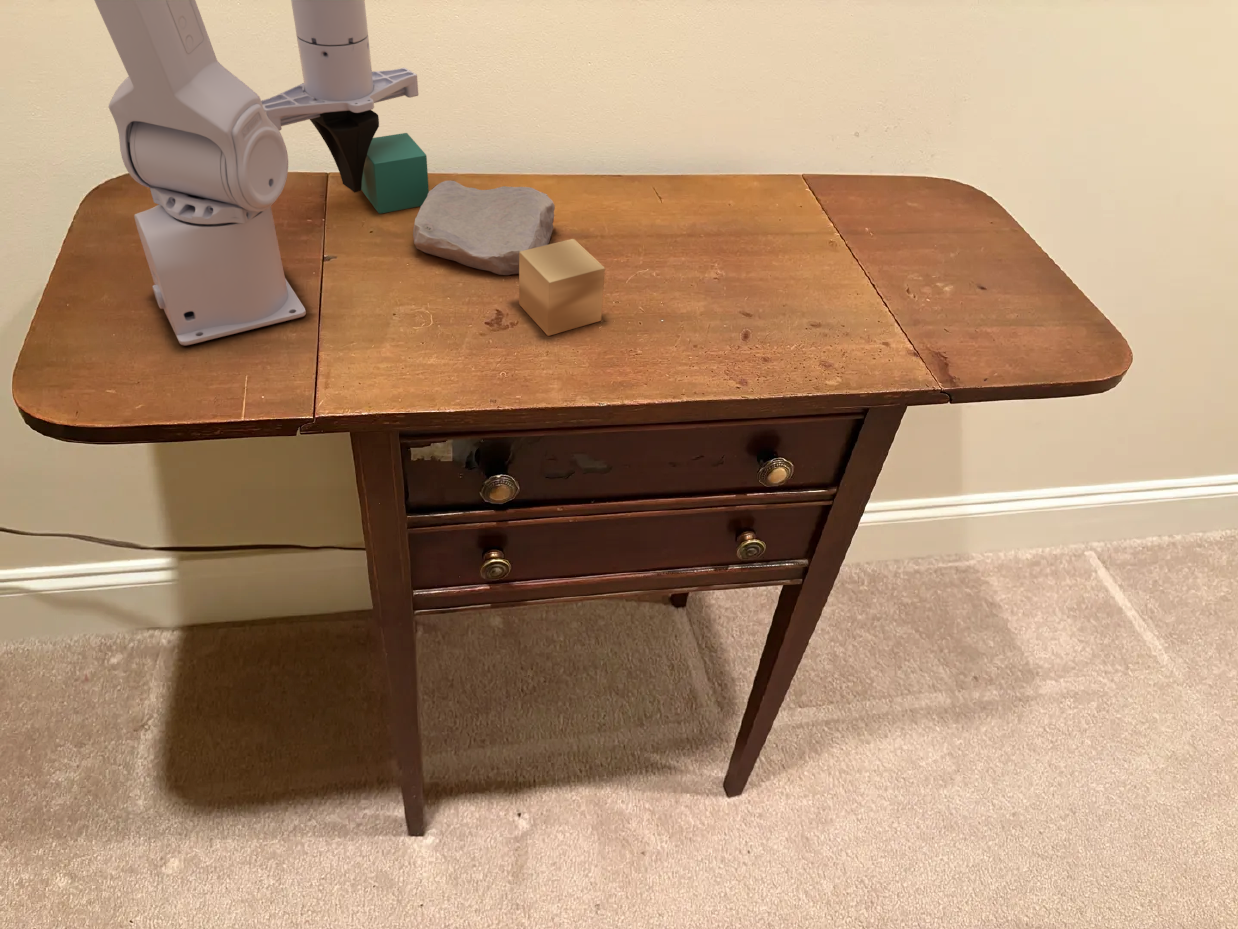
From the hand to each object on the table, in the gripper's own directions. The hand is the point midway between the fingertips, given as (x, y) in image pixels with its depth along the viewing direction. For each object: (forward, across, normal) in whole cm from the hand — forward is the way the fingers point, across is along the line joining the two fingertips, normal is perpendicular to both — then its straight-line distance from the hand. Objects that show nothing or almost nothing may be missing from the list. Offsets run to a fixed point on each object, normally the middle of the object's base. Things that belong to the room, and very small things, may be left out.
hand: (352, 187), depth 85 cm
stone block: (+2, +5, -13) cm, 14 cm away
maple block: (+2, +4, -25) cm, 26 cm away
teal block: (+2, +4, -1) cm, 4 cm away
